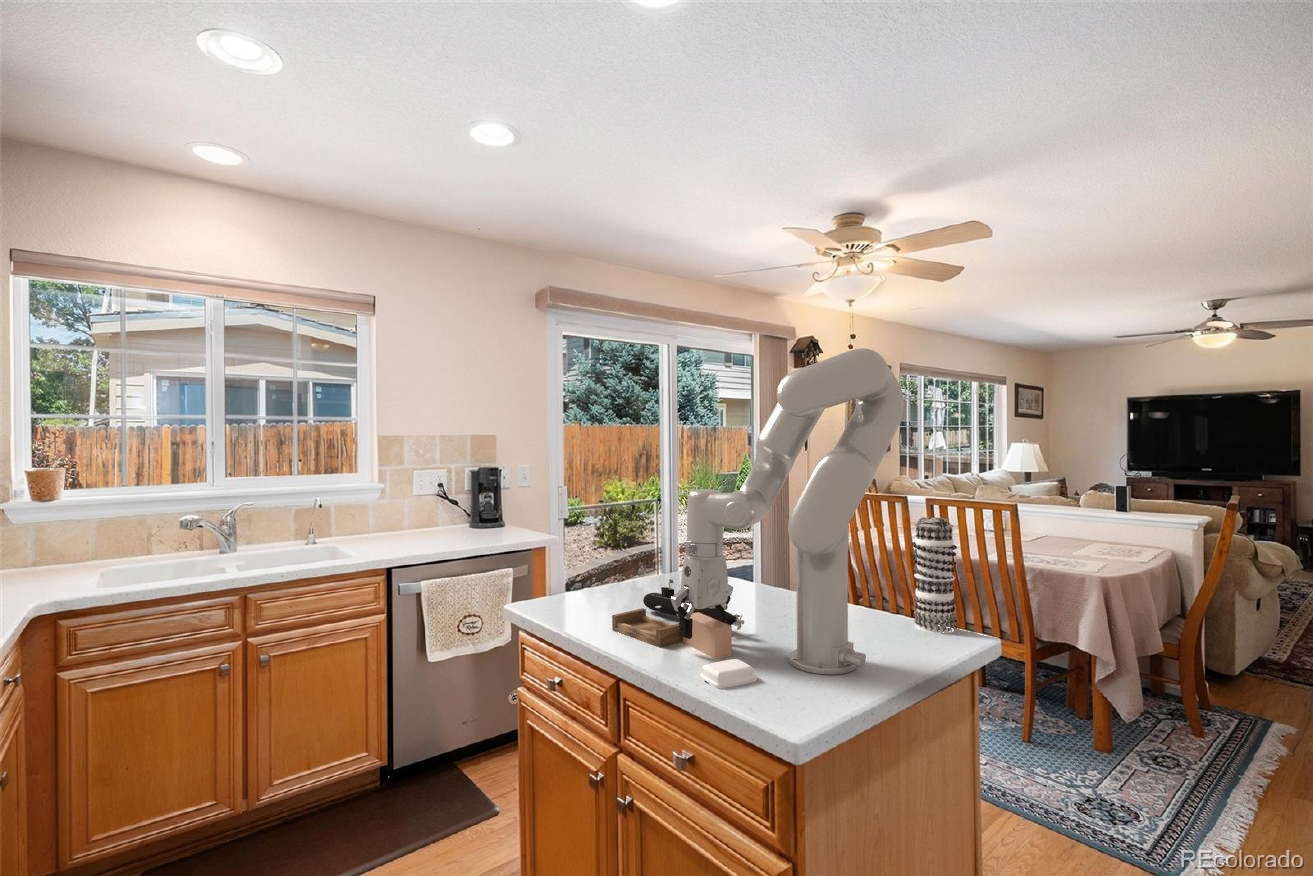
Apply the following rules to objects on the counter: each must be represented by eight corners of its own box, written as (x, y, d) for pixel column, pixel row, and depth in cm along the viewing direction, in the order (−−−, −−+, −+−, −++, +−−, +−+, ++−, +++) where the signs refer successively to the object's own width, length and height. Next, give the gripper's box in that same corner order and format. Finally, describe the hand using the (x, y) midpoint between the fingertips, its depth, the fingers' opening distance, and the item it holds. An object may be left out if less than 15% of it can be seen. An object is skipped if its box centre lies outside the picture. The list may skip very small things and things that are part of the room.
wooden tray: (690, 638, 137) (690, 622, 137) (660, 647, 131) (660, 630, 131) (642, 623, 149) (642, 608, 149) (612, 630, 143) (612, 615, 143)
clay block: (731, 656, 126) (731, 626, 126) (715, 659, 124) (715, 629, 124) (698, 640, 137) (698, 612, 137) (682, 643, 135) (682, 614, 135)
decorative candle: (949, 638, 136) (948, 521, 137) (906, 630, 143) (905, 518, 143) (963, 629, 143) (962, 518, 143) (921, 621, 149) (920, 515, 150)
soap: (738, 670, 119) (738, 655, 119) (760, 682, 113) (759, 666, 113) (696, 678, 115) (696, 662, 115) (717, 691, 109) (716, 674, 109)
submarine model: (752, 634, 139) (749, 589, 139) (732, 643, 134) (729, 596, 134) (655, 610, 162) (653, 571, 162) (635, 616, 157) (633, 576, 157)
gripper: (687, 557, 122) (685, 646, 122) (745, 548, 134) (743, 629, 134) (661, 551, 128) (658, 636, 128) (719, 543, 139) (717, 621, 139)
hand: (702, 632), depth 131 cm, fingers open, 9 cm apart
